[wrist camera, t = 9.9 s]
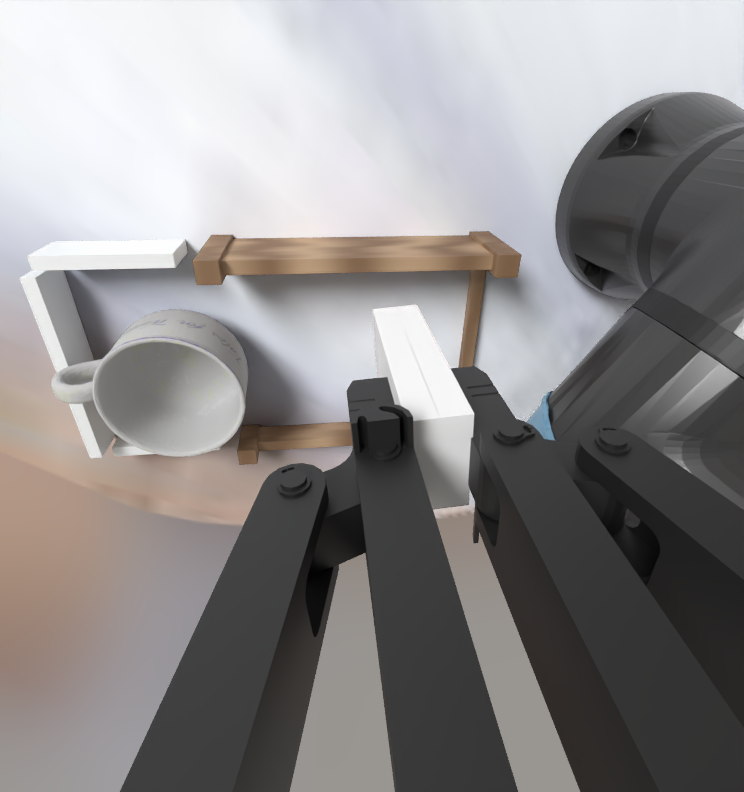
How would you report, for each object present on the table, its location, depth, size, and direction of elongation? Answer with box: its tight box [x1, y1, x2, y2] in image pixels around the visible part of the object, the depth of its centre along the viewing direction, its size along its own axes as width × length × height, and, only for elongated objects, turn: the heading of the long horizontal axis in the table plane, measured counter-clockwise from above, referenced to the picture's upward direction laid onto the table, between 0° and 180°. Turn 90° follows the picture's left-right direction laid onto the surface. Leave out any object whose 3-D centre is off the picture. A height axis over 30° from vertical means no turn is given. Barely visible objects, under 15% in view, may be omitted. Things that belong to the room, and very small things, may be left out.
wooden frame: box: [192, 231, 521, 465], centre depth 39 cm, size 22×20×7 cm
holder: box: [20, 239, 221, 458], centre depth 39 cm, size 10×19×4 cm, turn 179°
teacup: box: [52, 309, 248, 457], centre depth 37 cm, size 14×11×8 cm
